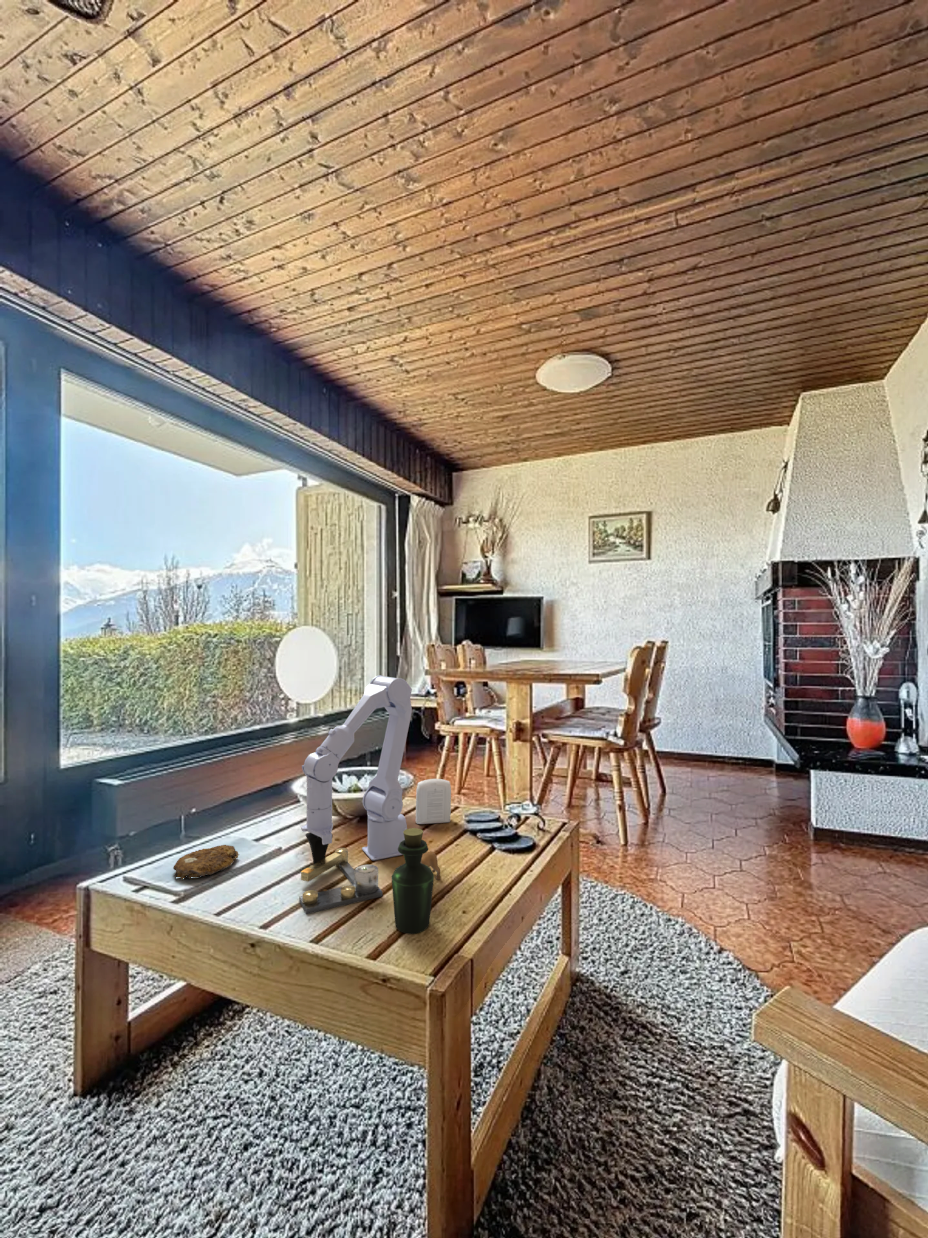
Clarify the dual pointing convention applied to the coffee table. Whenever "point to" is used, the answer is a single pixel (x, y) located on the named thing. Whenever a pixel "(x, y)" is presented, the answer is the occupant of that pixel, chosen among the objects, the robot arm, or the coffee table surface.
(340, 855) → the lever
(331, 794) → the robot arm
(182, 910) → the coffee table surface
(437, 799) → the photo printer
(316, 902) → the levelling base
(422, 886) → the potion bottle
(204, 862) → the decorative rock
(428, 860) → the lion figurine
